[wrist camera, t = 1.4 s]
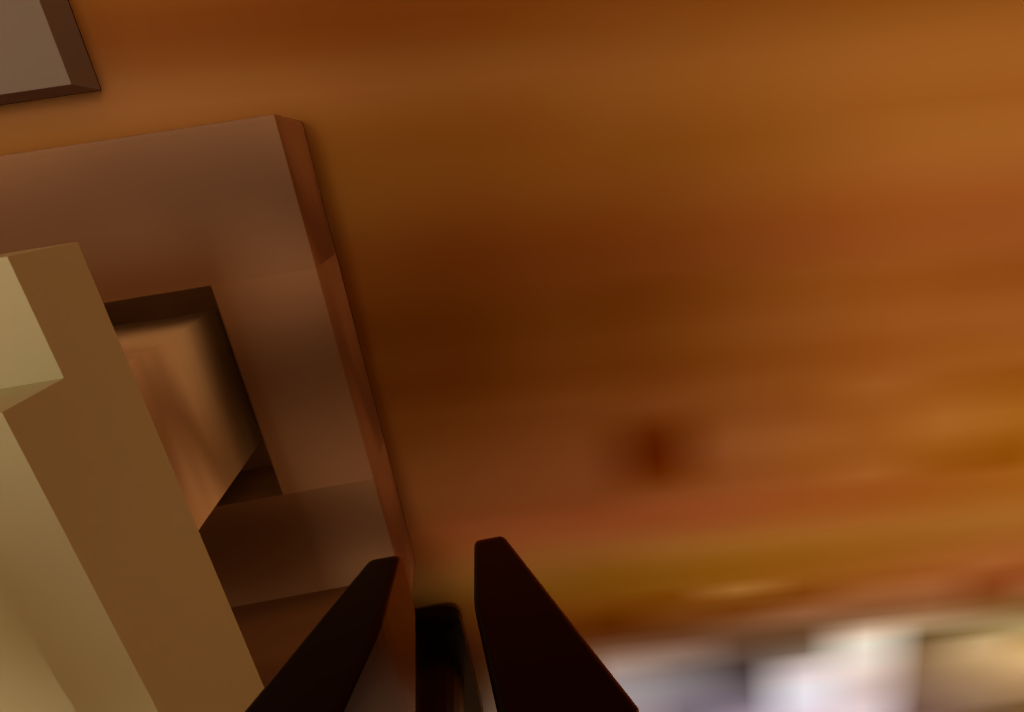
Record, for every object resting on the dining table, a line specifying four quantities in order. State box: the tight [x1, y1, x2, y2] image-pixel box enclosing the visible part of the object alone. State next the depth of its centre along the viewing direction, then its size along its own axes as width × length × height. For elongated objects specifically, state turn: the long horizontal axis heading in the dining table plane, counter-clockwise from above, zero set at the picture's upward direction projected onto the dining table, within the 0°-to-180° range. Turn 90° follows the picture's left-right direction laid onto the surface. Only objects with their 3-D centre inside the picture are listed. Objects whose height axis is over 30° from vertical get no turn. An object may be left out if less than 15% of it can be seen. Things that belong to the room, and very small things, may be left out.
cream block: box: [113, 309, 262, 530], centre depth 14 cm, size 4×4×6 cm
